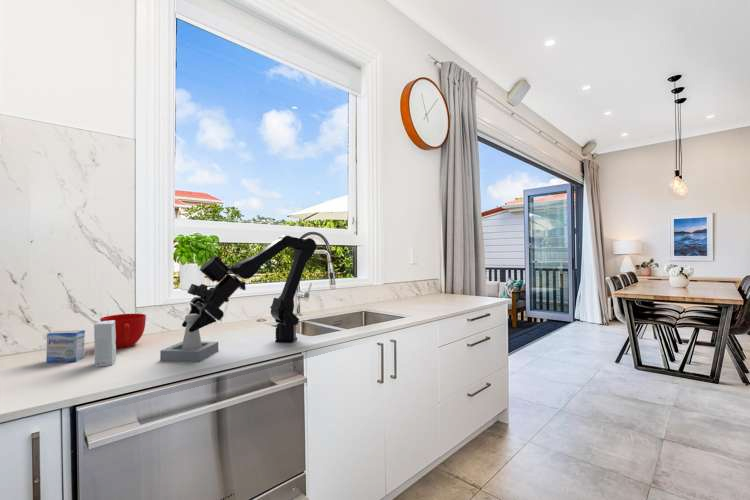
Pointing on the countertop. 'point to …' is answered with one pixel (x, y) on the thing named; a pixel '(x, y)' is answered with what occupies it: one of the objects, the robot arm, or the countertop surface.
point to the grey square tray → (188, 352)
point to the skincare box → (105, 343)
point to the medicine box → (65, 346)
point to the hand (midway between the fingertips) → (186, 328)
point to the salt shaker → (191, 334)
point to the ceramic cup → (127, 328)
